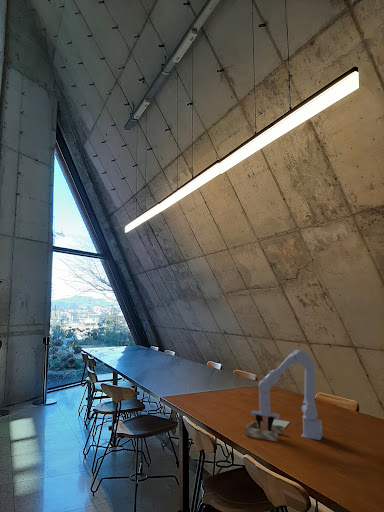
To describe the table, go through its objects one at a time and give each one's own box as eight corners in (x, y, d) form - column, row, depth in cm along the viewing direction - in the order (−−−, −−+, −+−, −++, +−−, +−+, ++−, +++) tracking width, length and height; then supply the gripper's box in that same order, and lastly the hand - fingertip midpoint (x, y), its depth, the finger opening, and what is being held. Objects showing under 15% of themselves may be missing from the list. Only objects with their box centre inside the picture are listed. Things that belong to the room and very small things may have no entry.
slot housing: (283, 434, 190) (283, 426, 190) (277, 441, 179) (277, 432, 179) (253, 428, 198) (252, 421, 198) (245, 435, 187) (245, 427, 187)
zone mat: (289, 422, 209) (289, 421, 209) (284, 428, 199) (284, 427, 199) (269, 419, 215) (269, 418, 215) (263, 424, 205) (263, 424, 205)
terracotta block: (270, 434, 189) (269, 420, 190) (268, 436, 185) (267, 422, 186) (263, 433, 191) (262, 419, 192) (260, 435, 187) (260, 421, 188)
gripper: (280, 404, 190) (281, 431, 188) (254, 400, 197) (254, 426, 195) (276, 407, 184) (277, 435, 182) (249, 403, 191) (250, 430, 189)
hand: (265, 431), depth 188 cm, fingers closed on terracotta block, 4 cm apart
